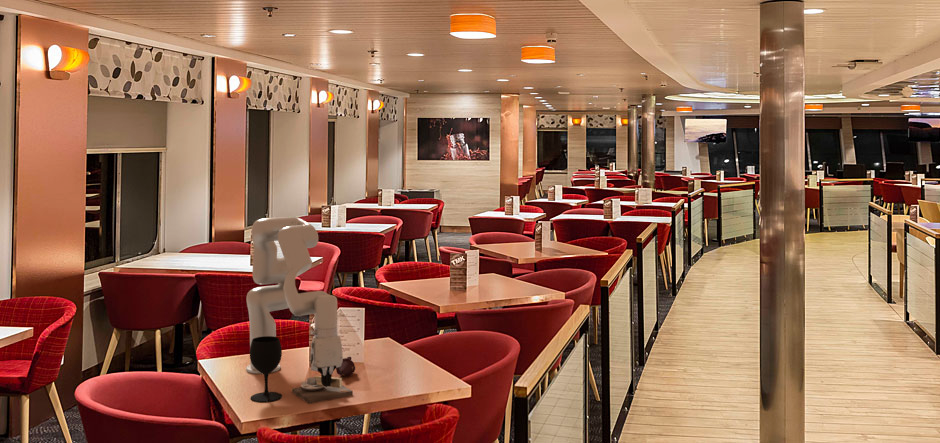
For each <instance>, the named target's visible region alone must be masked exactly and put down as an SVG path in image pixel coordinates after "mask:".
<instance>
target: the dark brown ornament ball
mask: <svg viewBox="0 0 940 443" xmlns="http://www.w3.org/2000/svg"><path fill="white" fill-rule="evenodd" d="M341 364H342V365H341V366H340V367H338V368H336V369H335V370H336V374H338V375H339V376H341V378H343V377H344V378H346V377H351V376H352V375H353V374H354V373H355V370H356V366H355V363H354V362H353V361H352V356H347V357H345V358H344V357H343V362H342V363H341Z"/></svg>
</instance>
